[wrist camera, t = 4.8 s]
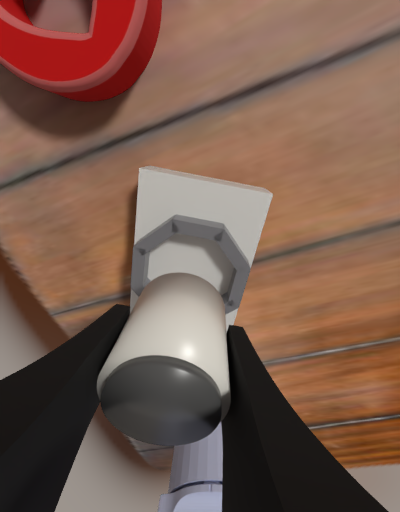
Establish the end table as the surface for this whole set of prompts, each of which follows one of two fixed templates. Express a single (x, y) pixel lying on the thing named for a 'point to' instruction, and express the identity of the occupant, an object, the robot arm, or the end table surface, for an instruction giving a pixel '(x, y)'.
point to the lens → (169, 364)
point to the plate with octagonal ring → (197, 231)
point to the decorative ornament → (82, 49)
